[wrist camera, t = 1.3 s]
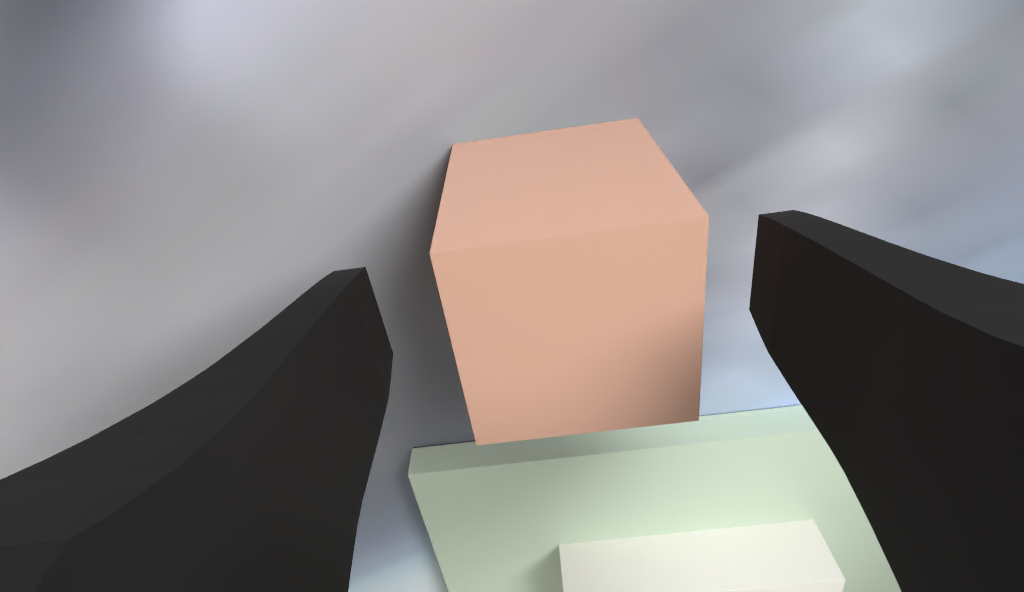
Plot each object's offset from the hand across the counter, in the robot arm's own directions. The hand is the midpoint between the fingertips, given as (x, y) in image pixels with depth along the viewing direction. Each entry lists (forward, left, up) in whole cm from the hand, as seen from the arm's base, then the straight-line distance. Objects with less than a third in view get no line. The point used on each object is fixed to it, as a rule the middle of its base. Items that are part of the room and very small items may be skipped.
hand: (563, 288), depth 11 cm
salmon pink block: (0, 0, -3) cm, 3 cm away
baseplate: (-3, +15, -3) cm, 16 cm away
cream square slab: (-3, +15, -2) cm, 15 cm away
